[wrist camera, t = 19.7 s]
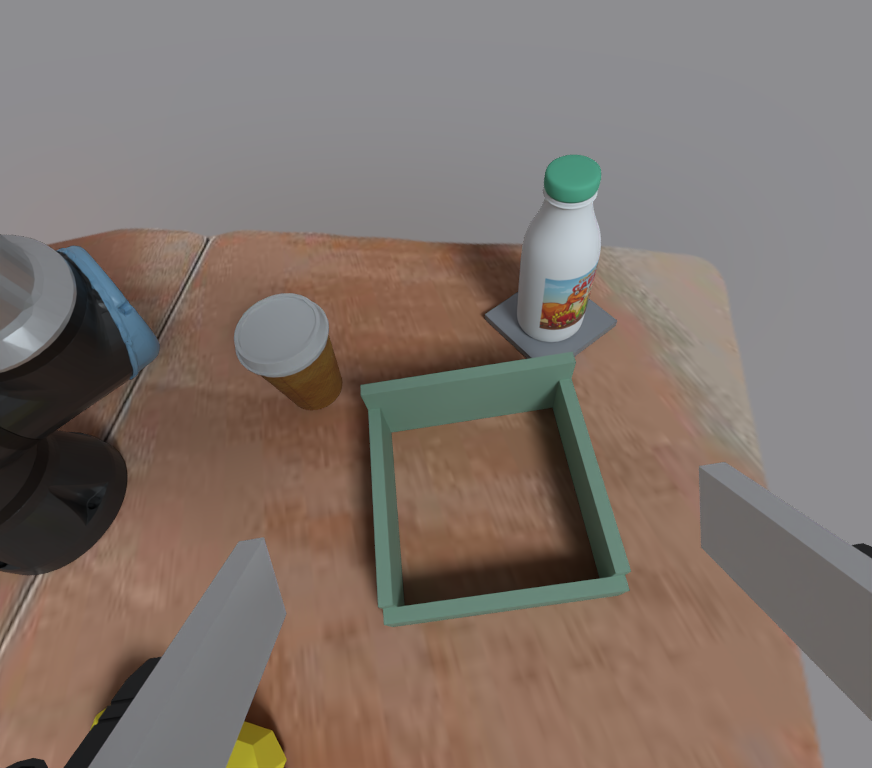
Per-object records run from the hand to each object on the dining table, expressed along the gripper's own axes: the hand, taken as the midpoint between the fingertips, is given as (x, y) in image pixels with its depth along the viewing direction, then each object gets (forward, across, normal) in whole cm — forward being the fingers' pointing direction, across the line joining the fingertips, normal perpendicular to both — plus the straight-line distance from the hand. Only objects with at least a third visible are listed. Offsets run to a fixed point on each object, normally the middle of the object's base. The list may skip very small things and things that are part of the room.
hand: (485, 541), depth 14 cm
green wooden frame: (+30, +2, -16) cm, 34 cm away
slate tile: (+44, +13, -1) cm, 46 cm away
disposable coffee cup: (+42, -16, -4) cm, 45 cm away
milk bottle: (+44, +13, -1) cm, 46 cm away
